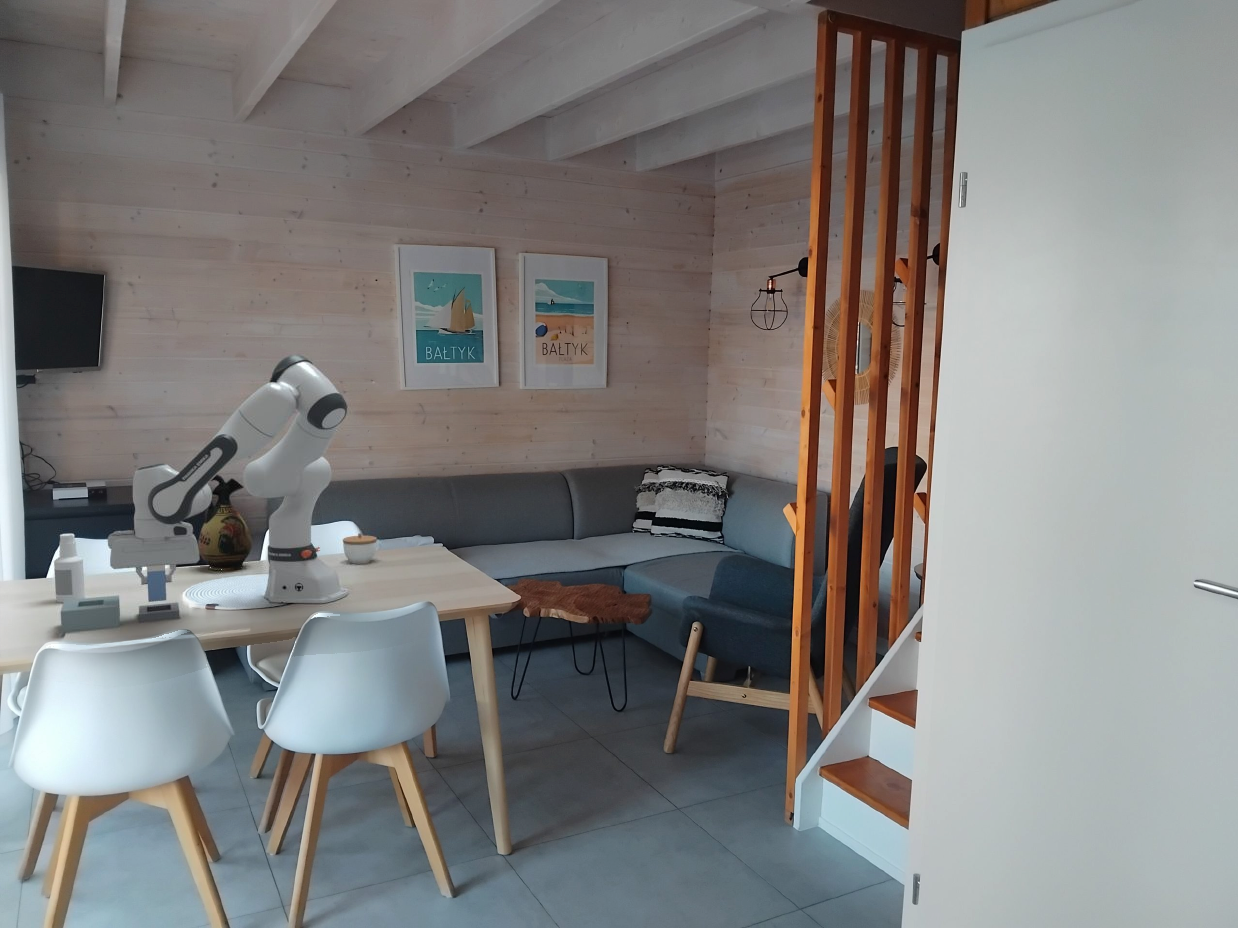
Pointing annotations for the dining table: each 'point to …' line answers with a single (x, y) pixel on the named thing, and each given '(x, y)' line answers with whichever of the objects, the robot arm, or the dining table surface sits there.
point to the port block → (90, 614)
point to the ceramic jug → (224, 531)
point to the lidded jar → (360, 548)
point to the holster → (159, 612)
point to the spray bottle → (68, 571)
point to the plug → (156, 583)
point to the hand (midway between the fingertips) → (156, 583)
